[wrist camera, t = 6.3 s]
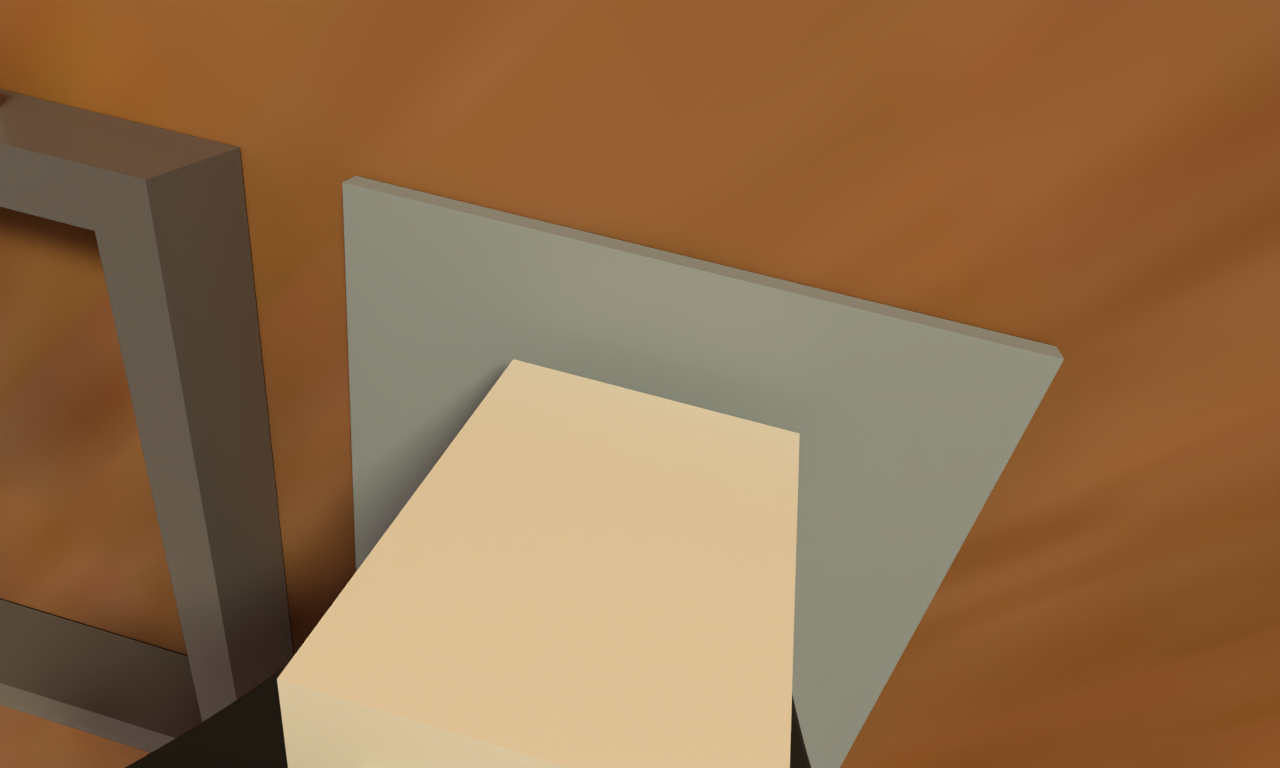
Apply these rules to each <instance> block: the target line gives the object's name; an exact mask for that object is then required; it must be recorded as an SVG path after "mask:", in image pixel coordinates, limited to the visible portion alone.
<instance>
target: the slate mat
mask: <svg viewBox="0 0 1280 768" xmlns="http://www.w3.org/2000/svg"><path fill="white" fill-rule="evenodd" d="M342 184H343V213H344V241H345V270H346V299H347V327H348V356H349V384H350V413H351V442H352V470H353V499H354V527H355V556H356V571H357V570H358V569H359V567H360V566H361V565H362V563H363V562H364V560H365V559H366V558H367V556H368V555H369V554H370V552H371V551H372V550H373V548H374V547H375V546H376V544H377V543H378V542H379V540H380V539H381V537H382V536H383V535H384V533H385V532H386V531H387V529H388V528H389V527H390V525H391V524H392V523H393V521H394V520H395V519H396V517H397V516H398V514H399V513H400V512H401V510H402V509H403V508H404V506H405V505H406V504H407V502H408V501H409V500H410V498H411V497H412V496H413V494H414V493H415V491H416V490H417V489H418V487H419V486H420V485H421V483H422V482H423V481H424V479H425V478H426V477H427V475H428V474H429V473H430V471H431V470H432V468H433V467H434V466H435V464H436V463H437V462H438V460H439V459H440V458H441V456H442V455H443V454H444V452H445V451H446V450H447V448H448V447H449V446H450V444H451V443H452V441H453V440H454V439H455V437H456V436H457V435H458V433H459V432H460V431H461V429H462V428H463V427H464V425H465V424H466V423H467V421H468V420H469V418H470V417H471V416H472V414H473V413H474V412H475V410H476V409H477V408H478V406H479V405H480V404H481V402H482V401H483V400H484V398H485V397H486V395H487V394H488V393H489V391H490V390H491V389H492V387H493V386H494V385H495V383H496V382H497V381H498V379H499V378H500V377H501V375H502V374H503V372H504V371H505V370H506V368H507V367H508V366H509V364H510V363H511V362H512V360H513V359H515V360H519V361H523V362H526V363H530V364H534V365H538V366H542V367H546V368H550V369H553V370H557V371H561V372H565V373H569V374H573V375H576V376H580V377H584V378H588V379H592V380H596V381H600V382H603V383H607V384H611V385H615V386H619V387H623V388H626V389H630V390H634V391H638V392H642V393H646V394H650V395H653V396H657V397H661V398H665V399H669V400H673V401H676V402H680V403H684V404H688V405H692V406H696V407H700V408H703V409H707V410H711V411H715V412H719V413H723V414H726V415H730V416H734V417H738V418H742V419H746V420H750V421H753V422H757V423H761V424H765V425H769V426H773V427H777V428H780V429H784V430H788V431H792V432H796V433H800V440H799V474H798V507H797V541H796V575H795V609H794V643H793V677H792V694H793V699H794V703H795V708H796V712H797V716H798V720H799V724H800V728H801V732H802V736H803V740H804V744H805V747H806V751H807V755H808V758H809V762H810V765H811V768H840V766H841V764H842V763H843V761H844V759H845V757H846V755H847V754H848V752H849V750H850V748H851V746H852V744H853V743H854V741H855V739H856V737H857V735H858V733H859V732H860V730H861V728H862V726H863V724H864V723H865V721H866V719H867V717H868V715H869V713H870V712H871V710H872V708H873V706H874V704H875V702H876V701H877V699H878V697H879V695H880V693H881V692H882V690H883V688H884V686H885V684H886V682H887V681H888V679H889V677H890V675H891V673H892V672H893V670H894V668H895V666H896V664H897V662H898V661H899V659H900V657H901V655H902V653H903V651H904V650H905V648H906V646H907V644H908V642H909V641H910V639H911V637H912V635H913V633H914V631H915V630H916V628H917V626H918V624H919V622H920V621H921V619H922V617H923V615H924V613H925V611H926V610H927V608H928V606H929V604H930V602H931V600H932V599H933V597H934V595H935V593H936V591H937V590H938V588H939V586H940V584H941V582H942V580H943V579H944V577H945V575H946V573H947V571H948V569H949V568H950V566H951V564H952V562H953V560H954V559H955V557H956V555H957V553H958V551H959V549H960V548H961V546H962V544H963V542H964V540H965V539H966V537H967V535H968V533H969V531H970V529H971V528H972V526H973V524H974V522H975V520H976V518H977V517H978V515H979V513H980V511H981V509H982V508H983V506H984V504H985V502H986V500H987V498H988V497H989V495H990V493H991V491H992V489H993V488H994V486H995V484H996V482H997V480H998V478H999V477H1000V475H1001V473H1002V471H1003V469H1004V467H1005V466H1006V464H1007V462H1008V460H1009V458H1010V457H1011V455H1012V453H1013V451H1014V449H1015V447H1016V446H1017V444H1018V442H1019V440H1020V438H1021V437H1022V435H1023V433H1024V431H1025V429H1026V427H1027V426H1028V424H1029V422H1030V420H1031V418H1032V416H1033V415H1034V413H1035V411H1036V409H1037V407H1038V406H1039V404H1040V402H1041V400H1042V398H1043V396H1044V395H1045V393H1046V391H1047V389H1048V387H1049V385H1050V384H1051V382H1052V380H1053V378H1054V376H1055V375H1056V373H1057V371H1058V369H1059V367H1060V365H1061V364H1062V362H1063V360H1064V358H1063V357H1062V355H1061V353H1060V352H1059V350H1058V349H1057V347H1056V346H1052V345H1048V344H1044V343H1040V342H1036V341H1031V340H1027V339H1023V338H1019V337H1015V336H1011V335H1007V334H1003V333H999V332H994V331H990V330H986V329H982V328H978V327H974V326H970V325H966V324H962V323H958V322H953V321H949V320H945V319H941V318H937V317H933V316H929V315H925V314H921V313H917V312H912V311H908V310H904V309H900V308H896V307H892V306H888V305H884V304H880V303H876V302H871V301H867V300H863V299H859V298H855V297H851V296H847V295H843V294H839V293H834V292H830V291H826V290H822V289H818V288H814V287H810V286H806V285H802V284H798V283H793V282H789V281H785V280H781V279H777V278H773V277H769V276H765V275H761V274H757V273H752V272H748V271H744V270H740V269H736V268H732V267H728V266H724V265H720V264H716V263H711V262H707V261H703V260H699V259H695V258H691V257H687V256H683V255H679V254H674V253H670V252H666V251H662V250H658V249H654V248H650V247H646V246H642V245H638V244H633V243H629V242H625V241H621V240H617V239H613V238H609V237H605V236H601V235H597V234H592V233H588V232H584V231H580V230H576V229H572V228H568V227H564V226H560V225H556V224H551V223H547V222H543V221H539V220H535V219H531V218H527V217H523V216H519V215H514V214H510V213H506V212H502V211H498V210H494V209H490V208H486V207H482V206H478V205H473V204H469V203H465V202H461V201H457V200H453V199H449V198H445V197H441V196H437V195H432V194H428V193H424V192H420V191H416V190H412V189H408V188H404V187H400V186H396V185H391V184H387V183H383V182H379V181H375V180H371V179H367V178H363V177H359V176H355V177H353V178H351V179H348V180H346V181H344V182H342Z"/></svg>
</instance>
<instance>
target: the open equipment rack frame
mask: <svg viewBox="0 0 1280 768" xmlns="http://www.w3.org/2000/svg"><path fill="white" fill-rule="evenodd" d="M0 207H4V208H7V209H11V210H15V211H19V212H23V213H27V214H31V215H35V216H39V217H42V218H46V219H50V220H54V221H58V222H62V223H66V224H70V225H73V226H77V227H81V228H85V229H89V230H93V231H95V235H96V239H97V244H98V248H99V253H100V258H101V262H102V267H103V271H104V276H105V280H106V285H107V290H108V294H109V299H110V303H111V308H112V312H113V317H114V321H115V326H116V331H117V335H118V340H119V344H120V349H121V353H122V358H123V362H124V367H125V372H126V376H127V381H128V385H129V390H130V394H131V399H132V403H133V408H134V413H135V417H136V422H137V426H138V431H139V435H140V440H141V445H142V449H143V454H144V458H145V463H146V467H147V472H148V476H149V481H150V486H151V490H152V495H153V499H154V504H155V508H156V513H157V517H158V522H159V527H160V531H161V536H162V540H163V545H164V549H165V554H166V559H167V563H168V568H169V572H170V577H171V581H172V586H173V590H174V595H175V600H176V604H177V609H178V613H179V618H180V622H181V627H182V631H183V636H184V641H185V645H186V650H187V654H188V656H185V655H181V654H178V653H175V652H171V651H168V650H165V649H162V648H158V647H155V646H152V645H148V644H145V643H142V642H139V641H135V640H132V639H129V638H125V637H122V636H119V635H116V634H112V633H109V632H106V631H103V630H99V629H96V628H93V627H89V626H86V625H83V624H80V623H76V622H73V621H70V620H66V619H63V618H60V617H57V616H53V615H50V614H47V613H43V612H40V611H37V610H34V609H30V608H27V607H24V606H20V605H17V604H14V603H11V602H7V601H4V600H1V599H0V705H3V706H6V707H9V708H12V709H15V710H19V711H22V712H25V713H28V714H31V715H34V716H37V717H41V718H44V719H47V720H50V721H53V722H56V723H59V724H63V725H66V726H69V727H72V728H75V729H78V730H82V731H85V732H88V733H91V734H94V735H97V736H100V737H104V738H107V739H110V740H113V741H116V742H119V743H123V744H126V745H129V746H132V747H135V748H138V749H141V750H145V751H148V752H151V753H152V752H153V751H155V750H157V749H158V748H160V747H162V746H163V745H165V744H167V743H169V742H170V741H172V740H174V739H175V738H177V737H179V736H180V735H182V734H184V733H186V732H187V731H189V730H191V729H192V728H194V727H195V726H197V725H199V724H200V723H202V722H203V721H205V720H206V719H208V718H210V717H211V716H213V715H214V714H216V713H217V712H219V711H221V710H222V709H224V708H225V707H227V706H228V705H230V704H231V703H233V702H234V701H236V700H237V699H239V698H240V697H242V696H243V695H245V694H246V693H248V692H249V691H251V690H252V689H254V688H255V687H256V686H258V685H259V684H261V683H262V682H264V681H265V680H266V679H268V678H269V677H271V676H272V675H273V674H275V673H276V672H277V671H279V670H280V669H281V668H283V667H284V666H286V665H287V664H288V663H289V662H290V661H291V659H292V658H293V648H292V638H291V629H290V619H289V610H288V601H287V591H286V582H285V572H284V563H283V553H282V544H281V534H280V525H279V515H278V506H277V496H276V487H275V478H274V468H273V459H272V449H271V440H270V430H269V421H268V411H267V402H266V392H265V383H264V373H263V364H262V354H261V345H260V336H259V326H258V317H257V307H256V298H255V288H254V279H253V269H252V260H251V250H250V241H249V231H248V222H247V213H246V203H245V194H244V184H243V175H242V165H241V156H240V147H236V146H231V145H227V144H223V143H219V142H215V141H211V140H207V139H203V138H199V137H194V136H190V135H186V134H182V133H178V132H174V131H170V130H166V129H162V128H158V127H153V126H149V125H145V124H141V123H137V122H133V121H129V120H125V119H121V118H117V117H112V116H108V115H104V114H100V113H96V112H92V111H88V110H84V109H80V108H75V107H71V106H67V105H63V104H59V103H55V102H51V101H47V100H43V99H39V98H34V97H30V96H26V95H22V94H18V93H14V92H10V91H6V90H2V89H0Z"/></svg>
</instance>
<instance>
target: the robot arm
mask: <svg viewBox="0 0 1280 768" xmlns="http://www.w3.org/2000/svg"><path fill="white" fill-rule="evenodd" d="M287 665H288V664H287ZM287 665H286V666H287ZM286 666H284V667H283V668H281V669H280V670H279V671H277V672H276V673H275V674H273V675H272V676H271V677H269V678H268V679H266V680H265V681H264V682H262V683H261V684H259V685H258V686H256V687H255V688H254V689H252V690H251V691H249V692H248V693H246V694H245V695H243V696H242V697H240V698H239V699H237V700H236V701H234V702H233V703H231V704H230V705H228V706H227V707H225V708H224V709H222V710H221V711H219V712H217V713H216V714H214V715H213V716H211V717H210V718H208V719H206V720H205V721H203V722H202V723H200V724H199V725H197V726H195V727H194V728H192V729H191V730H189V731H187V732H186V733H184V734H182V735H180V736H179V737H177V738H175V739H174V740H172V741H170V742H169V743H167V744H165V745H163V746H162V747H160V748H158V749H157V750H155V751H153V752H152V753H150V754H148V755H146V756H145V757H143V758H141V759H140V760H138V761H136V762H134V763H133V764H131V765H129V766H127V767H125V768H288V764H287V756H286V748H285V740H284V732H283V724H282V716H281V707H280V699H279V691H278V683H277V678H278V677H279V675H280V674H281V673H282V671H283V670H284V669H285V667H286ZM790 768H811V765H810V762H809V758H808V755H807V751H806V747H805V744H804V740H803V736H802V732H801V728H800V724H799V720H798V716H797V712H796V708H795V703H794V699H793V694H792V711H791V745H790Z"/></svg>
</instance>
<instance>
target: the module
mask: <svg viewBox="0 0 1280 768" xmlns="http://www.w3.org/2000/svg"><path fill="white" fill-rule="evenodd" d="M799 440H800V433H796V432H792V431H788V430H784V429H780V428H777V427H773V426H769V425H765V424H761V423H757V422H753V421H750V420H746V419H742V418H738V417H734V416H730V415H726V414H723V413H719V412H715V411H711V410H707V409H703V408H700V407H696V406H692V405H688V404H684V403H680V402H676V401H673V400H669V399H665V398H661V397H657V396H653V395H650V394H646V393H642V392H638V391H634V390H630V389H626V388H623V387H619V386H615V385H611V384H607V383H603V382H600V381H596V380H592V379H588V378H584V377H580V376H576V375H573V374H569V373H565V372H561V371H557V370H553V369H550V368H546V367H542V366H538V365H534V364H530V363H526V362H523V361H519V360H515V359H513V360H512V362H511V363H510V364H509V366H508V367H507V368H506V370H505V371H504V372H503V374H502V375H501V377H500V378H499V379H498V381H497V382H496V383H495V385H494V386H493V387H492V389H491V390H490V391H489V393H488V394H487V395H486V397H485V398H484V400H483V401H482V402H481V404H480V405H479V406H478V408H477V409H476V410H475V412H474V413H473V414H472V416H471V417H470V418H469V420H468V421H467V423H466V424H465V425H464V427H463V428H462V429H461V431H460V432H459V433H458V435H457V436H456V437H455V439H454V440H453V441H452V443H451V444H450V446H449V447H448V448H447V450H446V451H445V452H444V454H443V455H442V456H441V458H440V459H439V460H438V462H437V463H436V464H435V466H434V467H433V468H432V470H431V471H430V473H429V474H428V475H427V477H426V478H425V479H424V481H423V482H422V483H421V485H420V486H419V487H418V489H417V490H416V491H415V493H414V494H413V496H412V497H411V498H410V500H409V501H408V502H407V504H406V505H405V506H404V508H403V509H402V510H401V512H400V513H399V514H398V516H397V517H396V519H395V520H394V521H393V523H392V524H391V525H390V527H389V528H388V529H387V531H386V532H385V533H384V535H383V536H382V537H381V539H380V540H379V542H378V543H377V544H376V546H375V547H374V548H373V550H372V551H371V552H370V554H369V555H368V556H367V558H366V559H365V560H364V562H363V563H362V565H361V566H360V567H359V569H358V570H357V571H356V573H355V574H354V575H353V577H352V578H351V579H350V581H349V582H348V583H347V585H346V586H345V588H344V589H343V590H342V592H341V593H340V594H339V596H338V597H337V598H336V600H335V601H334V602H333V604H332V605H331V606H330V608H329V609H328V611H327V612H326V613H325V615H324V616H323V617H322V619H321V620H320V621H319V623H318V624H317V625H316V627H315V628H314V629H313V631H312V632H311V634H310V635H309V636H308V638H307V639H306V640H305V642H304V643H303V644H302V646H301V647H300V648H299V650H298V651H297V652H296V654H295V655H294V657H293V658H292V659H291V661H290V662H289V663H288V665H287V666H286V667H285V669H284V670H283V671H282V673H281V674H280V675H279V677H278V678H277V683H278V691H279V699H280V707H281V716H282V724H283V732H284V740H285V748H286V756H287V764H288V768H790V745H791V711H792V677H793V643H794V609H795V575H796V541H797V507H798V474H799Z"/></svg>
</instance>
